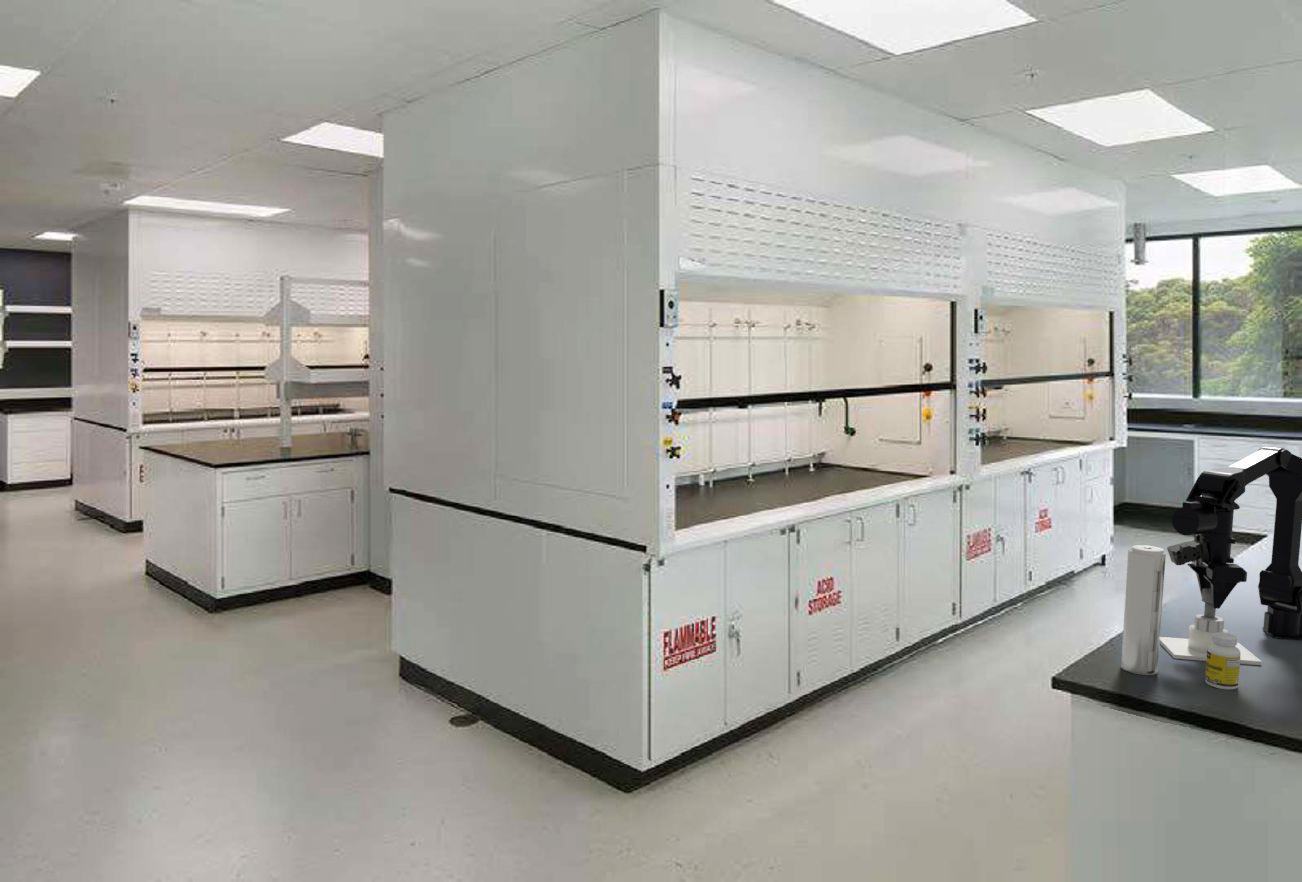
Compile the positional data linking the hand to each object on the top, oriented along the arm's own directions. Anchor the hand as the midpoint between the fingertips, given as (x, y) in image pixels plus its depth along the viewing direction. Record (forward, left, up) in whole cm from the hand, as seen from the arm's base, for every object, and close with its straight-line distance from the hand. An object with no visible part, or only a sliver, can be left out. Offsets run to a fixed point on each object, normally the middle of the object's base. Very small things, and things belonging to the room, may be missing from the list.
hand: (1210, 603), depth 188 cm
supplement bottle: (+4, +20, -11) cm, 23 cm away
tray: (0, 0, -10) cm, 10 cm away
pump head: (0, 0, -3) cm, 3 cm away
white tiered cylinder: (0, 0, -10) cm, 10 cm away
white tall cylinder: (+17, +15, -11) cm, 25 cm away
